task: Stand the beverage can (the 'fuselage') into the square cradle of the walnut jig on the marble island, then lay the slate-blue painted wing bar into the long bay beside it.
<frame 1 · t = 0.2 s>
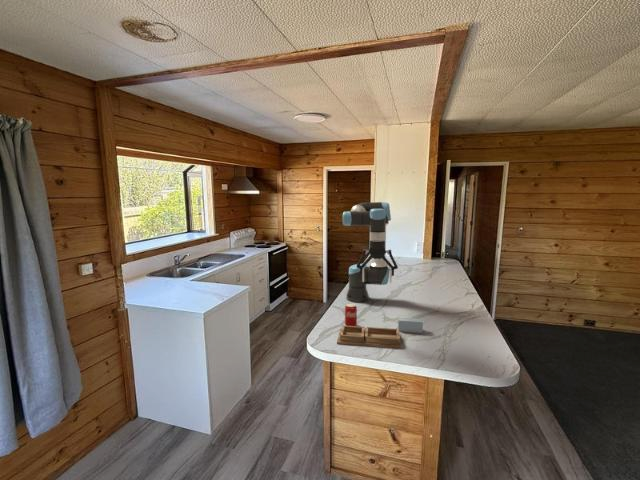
hand: (376, 281, 158), 27 cm above the worktop, fingers open, 13 cm apart
wing bar: (409, 330, 165), on the worktop
jig: (368, 339, 156), on the worktop
beverage can: (350, 326, 171), on the worktop
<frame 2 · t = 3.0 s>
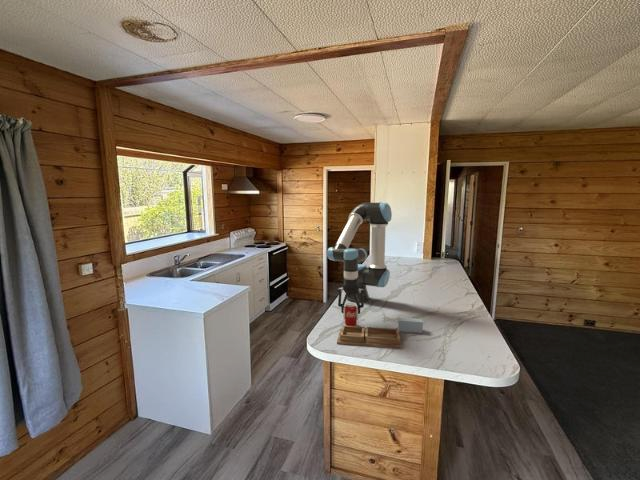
hand: (350, 318, 170), 4 cm above the worktop, fingers closed on beverage can, 6 cm apart
beverage can: (350, 326, 171), on the worktop, touching gripper
everything else where it was.
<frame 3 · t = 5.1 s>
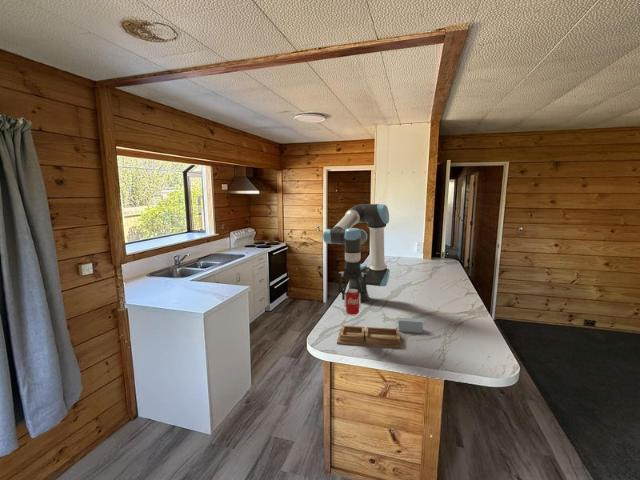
hand: (352, 306, 154), 17 cm above the worktop, fingers closed on beverage can, 6 cm apart
beverage can: (352, 314, 155), point 13 cm above the worktop, touching gripper
everything else where it was.
when the fingers open (6 cm above the worktop, at t = 7.4 s): beverage can stays where it is, resting on jig.
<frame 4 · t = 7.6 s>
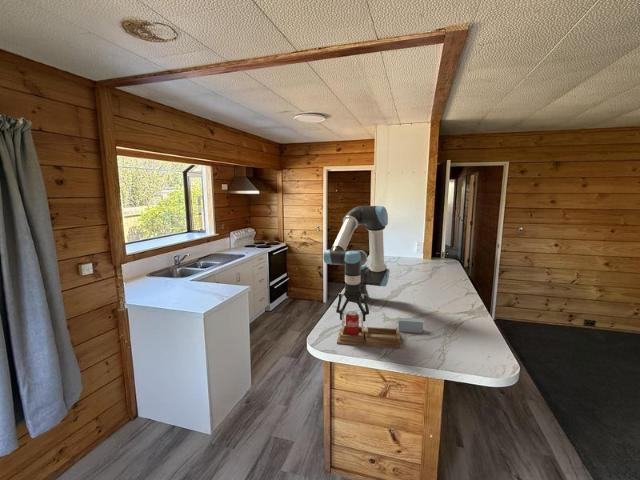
hand: (352, 326, 156), 6 cm above the worktop, fingers open, 9 cm apart
beverage can: (352, 336, 157), point 1 cm above the worktop, touching jig
everything else where it was.
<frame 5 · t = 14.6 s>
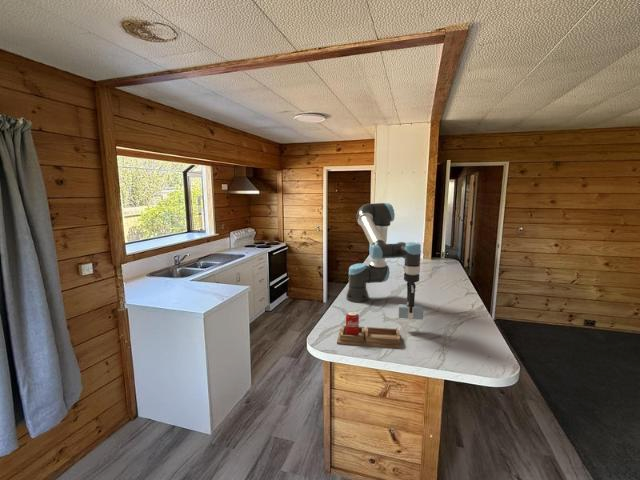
hand: (409, 316, 164), 8 cm above the worktop, fingers closed on wing bar, 4 cm apart
wing bar: (410, 317, 164), point 7 cm above the worktop, touching gripper
everything else where it was.
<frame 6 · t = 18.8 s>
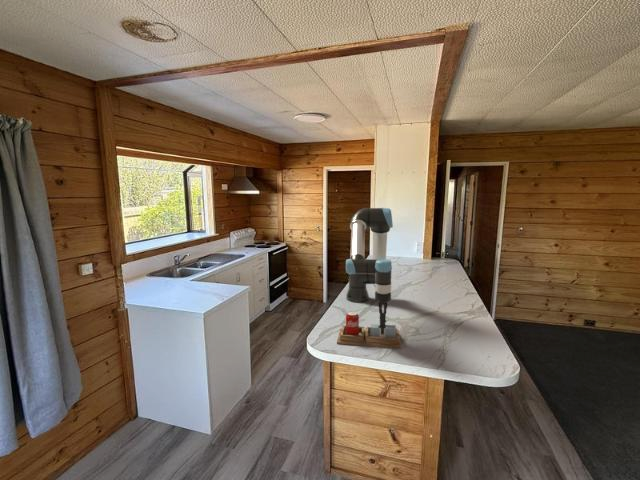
hand: (382, 337, 154), 2 cm above the worktop, fingers closed on wing bar, 4 cm apart
wing bar: (382, 337, 154), point 1 cm above the worktop, touching gripper, jig
everything else where it was.
when the fingers open (2 cm above the worktop, at t = 20.1 s): wing bar stays where it is, resting on jig.
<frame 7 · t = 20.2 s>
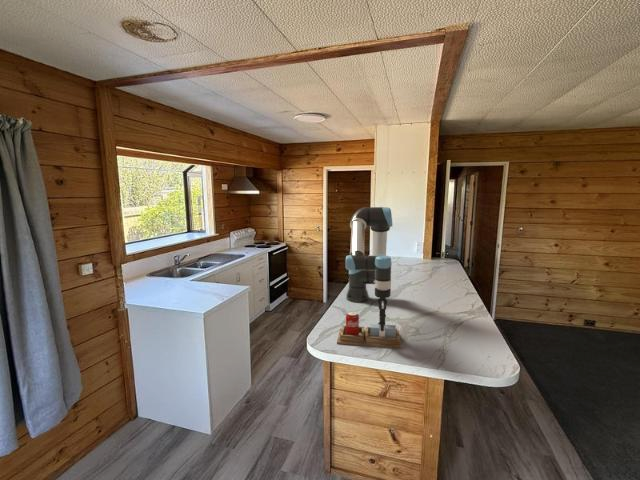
hand: (381, 332, 154), 4 cm above the worktop, fingers open, 7 cm apart
wing bar: (382, 337, 154), point 1 cm above the worktop, touching jig
everything else where it was.
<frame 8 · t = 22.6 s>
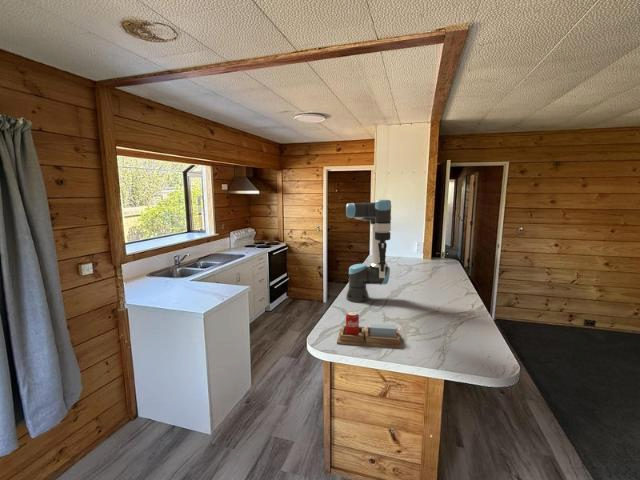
hand: (381, 273, 156), 32 cm above the worktop, fingers open, 13 cm apart
nothing on the worktop moved.
at the end: beverage can inside the target area on the jig (0.2 cm from its centre), point 1.0 cm above the jig's base; beverage can tilted 0°; wing bar inside the target area on the jig (0.3 cm from its centre), point 1.2 cm above the jig's base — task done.
